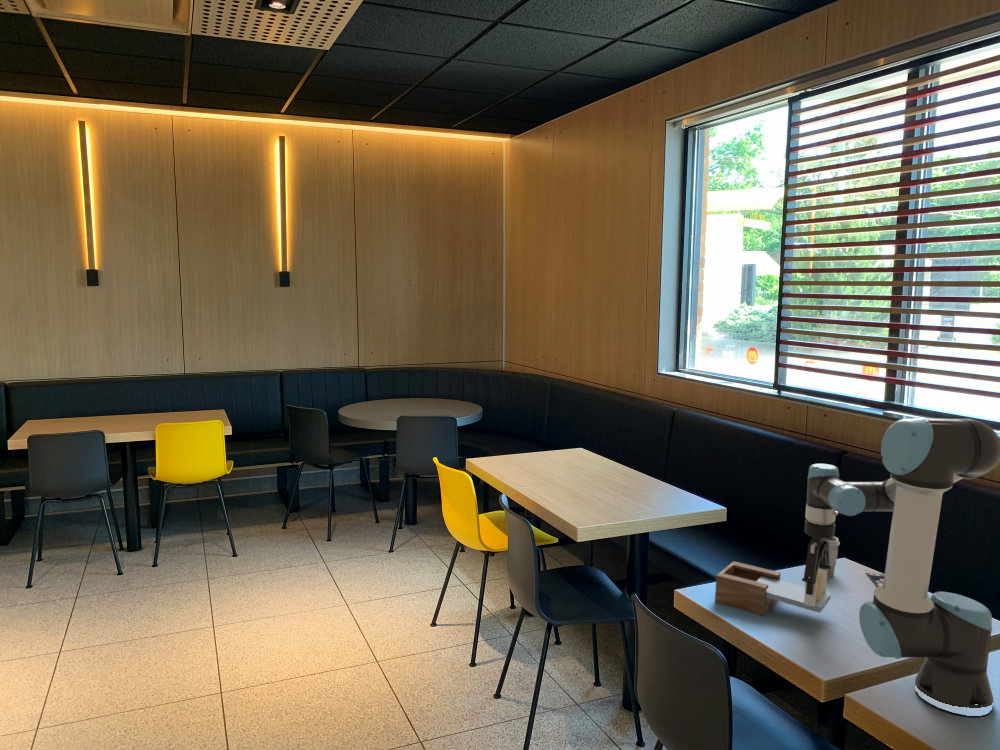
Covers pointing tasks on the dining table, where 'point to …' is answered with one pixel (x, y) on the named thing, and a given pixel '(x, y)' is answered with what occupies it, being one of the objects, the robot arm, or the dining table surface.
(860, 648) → the dining table surface
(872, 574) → the smartphone
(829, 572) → the cup
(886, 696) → the dining table surface
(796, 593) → the lid
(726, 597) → the case
